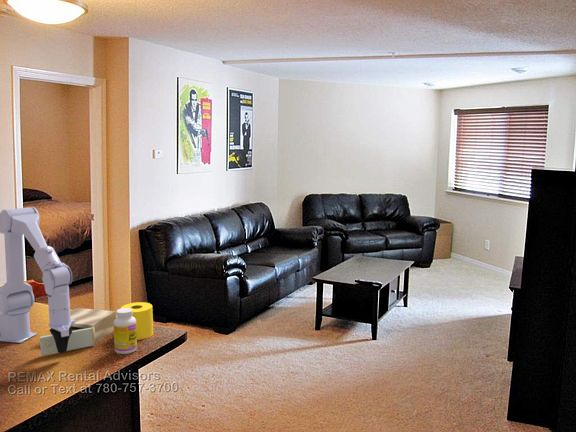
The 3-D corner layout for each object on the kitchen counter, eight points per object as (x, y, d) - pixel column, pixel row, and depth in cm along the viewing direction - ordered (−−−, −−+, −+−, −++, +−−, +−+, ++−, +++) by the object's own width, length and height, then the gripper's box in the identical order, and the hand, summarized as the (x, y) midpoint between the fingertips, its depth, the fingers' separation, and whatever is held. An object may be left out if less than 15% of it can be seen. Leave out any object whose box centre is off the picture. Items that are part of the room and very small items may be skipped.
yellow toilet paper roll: (145, 326, 187) (144, 300, 185) (158, 335, 179) (157, 307, 178) (117, 333, 181) (116, 306, 179) (129, 342, 173) (128, 314, 171)
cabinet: (51, 340, 174) (50, 321, 173) (77, 325, 187) (75, 307, 186) (93, 345, 171) (92, 325, 170) (116, 329, 184) (115, 311, 183)
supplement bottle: (130, 355, 163) (129, 314, 161) (110, 353, 164) (108, 313, 162) (141, 347, 169) (139, 307, 167) (121, 345, 171) (119, 306, 168)
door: (94, 343, 170) (93, 326, 170) (96, 346, 169) (95, 329, 168) (40, 354, 162) (39, 336, 161) (42, 357, 160) (40, 339, 160)
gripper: (79, 312, 153) (81, 357, 155) (69, 298, 165) (71, 341, 167) (52, 316, 149) (55, 363, 151) (44, 302, 161) (47, 346, 164)
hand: (62, 352), depth 159 cm, fingers closed
